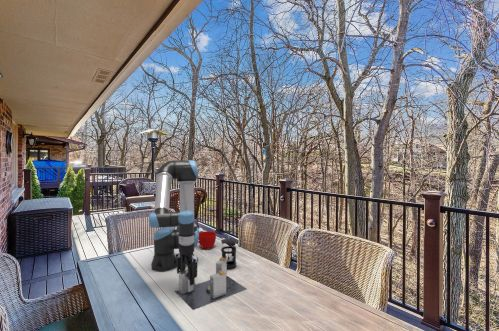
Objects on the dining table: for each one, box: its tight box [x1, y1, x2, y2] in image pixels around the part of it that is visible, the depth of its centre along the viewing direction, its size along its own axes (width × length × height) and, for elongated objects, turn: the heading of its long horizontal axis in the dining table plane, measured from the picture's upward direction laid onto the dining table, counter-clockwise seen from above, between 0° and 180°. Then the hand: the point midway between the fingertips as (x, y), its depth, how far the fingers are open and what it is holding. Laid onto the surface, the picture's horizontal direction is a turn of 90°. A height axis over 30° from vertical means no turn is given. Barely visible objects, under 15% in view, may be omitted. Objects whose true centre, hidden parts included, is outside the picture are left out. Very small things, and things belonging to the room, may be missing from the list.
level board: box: [174, 275, 248, 311], centre depth 139 cm, size 20×30×3 cm, turn 128°
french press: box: [220, 229, 237, 271], centre depth 167 cm, size 12×9×23 cm
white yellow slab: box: [215, 256, 228, 277], centre depth 150 cm, size 3×7×10 cm, turn 163°
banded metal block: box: [209, 271, 226, 299], centre depth 134 cm, size 3×7×10 cm, turn 128°
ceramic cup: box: [198, 230, 217, 250], centre depth 203 cm, size 13×17×10 cm
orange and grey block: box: [178, 268, 196, 294], centre depth 138 cm, size 3×7×10 cm, turn 132°
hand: (187, 289), depth 138 cm, fingers closed on orange and grey block, 4 cm apart
